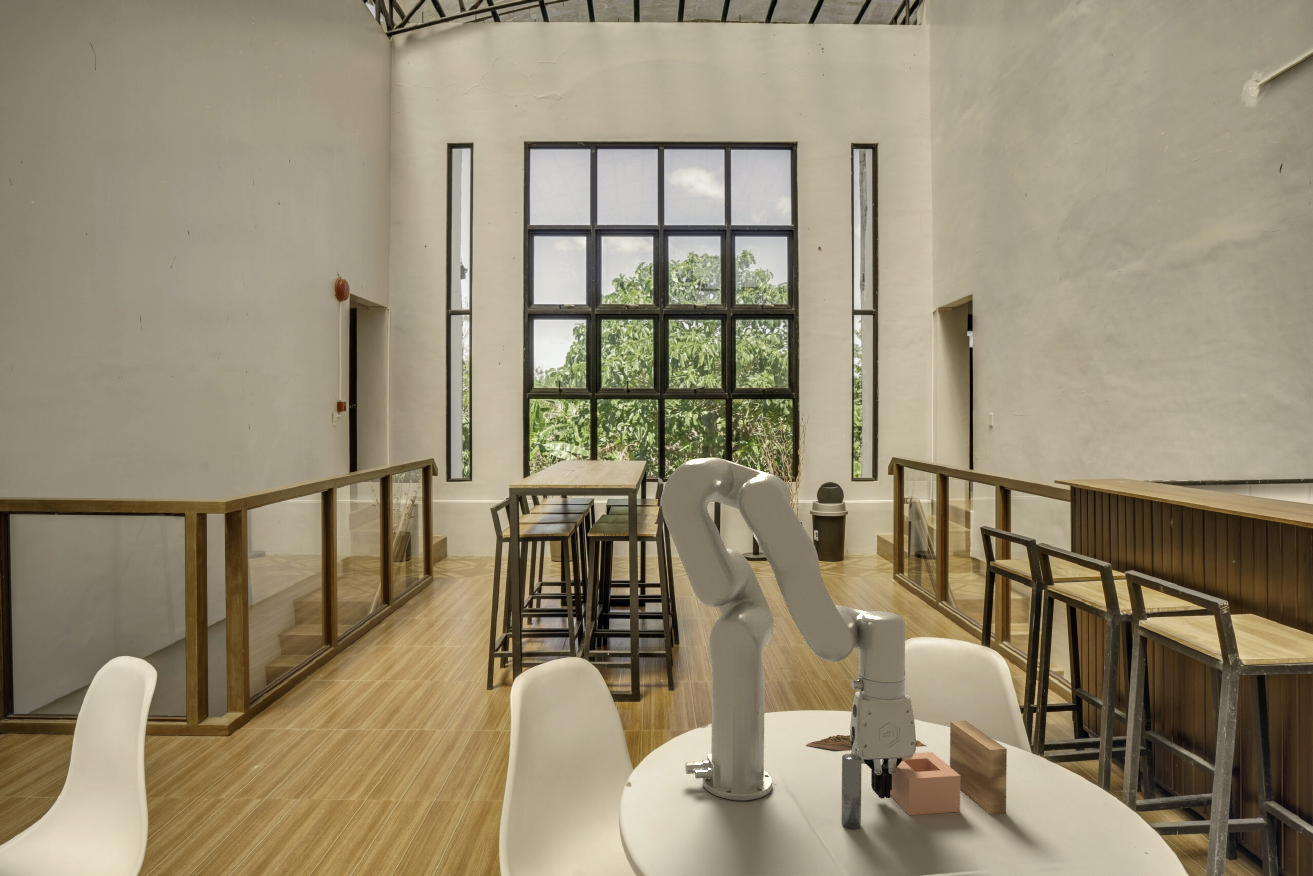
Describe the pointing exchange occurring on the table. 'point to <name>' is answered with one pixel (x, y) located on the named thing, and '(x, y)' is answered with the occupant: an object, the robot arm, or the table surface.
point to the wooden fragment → (840, 743)
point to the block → (926, 785)
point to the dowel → (851, 791)
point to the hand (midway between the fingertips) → (881, 794)
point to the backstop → (979, 766)
